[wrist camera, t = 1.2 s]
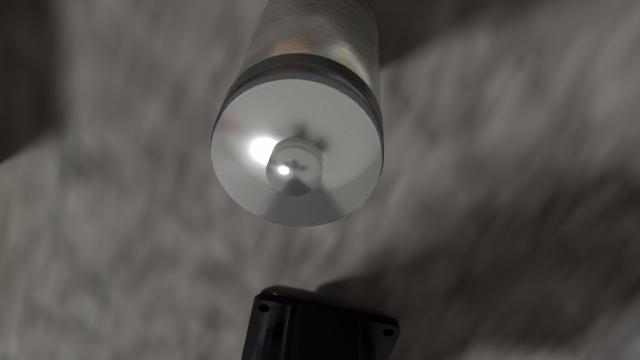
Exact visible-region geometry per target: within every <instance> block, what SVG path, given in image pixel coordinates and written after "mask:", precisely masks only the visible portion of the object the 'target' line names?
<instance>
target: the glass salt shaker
mask: <svg viewBox="0 0 640 360" xmlns="http://www.w3.org/2000/svg"><path fill="white" fill-rule="evenodd" d="M211 157H212V163H213V167H214V171H215V173H216V175H217V178H218V180H219V181H220V183H221V185H222V186H223V188H224V189H225V191H226V192H227V193H228V194H229V196H230V197H231V198H233V199H234V200H235V201H236V202H237V203H238V204H239V205H240V206H242V207H243V208H244V209H246V210H247V211H249V212H251V213H252V214H254V215H256V216H258V217H260V218H262V219H265V220H268V221H271V222H274V223H278V224H282V225H289V226H301V227H303V226H316V225H322V224H326V223H330V222H333V221H336V220H338V219H341V218H343V217H345V216H347V215H349V214H350V213H352V212H353V211H355V210H356V209H357V208H359V207H360V206H361V205H362V204H363V203H364V202H365V201H366V200H367V198H368V197H369V196H370V195H371V193H372V192H373V190H374V188H375V187H376V184H377V182H378V180H379V177H380V175H381V172H382V168H383V161H384V141H383V120H382V114H381V110H380V80H379V46H378V28H377V23H376V20H375V17H374V14H373V12H372V10H371V8H370V6H369V5H368V4H367V2H366V1H365V0H270V1H269V2H268V3H267V5H266V7H265V8H264V10H263V13H262V15H261V18H260V20H259V23H258V25H257V27H256V30H255V32H254V35H253V37H252V40H251V42H250V45H249V47H248V49H247V52H246V54H245V57H244V59H243V62H242V64H241V67H240V69H239V71H238V74H237V76H236V79H235V81H234V83H233V84H232V86H231V88H230V89H229V91H228V93H227V95H226V97H225V100H224V102H223V105H222V107H221V109H220V112H219V114H218V117H217V119H216V122H215V124H214V127H213V131H212V136H211Z"/></svg>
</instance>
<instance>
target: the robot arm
mask: <svg viewBox="0 0 640 360" xmlns="http://www.w3.org/2000/svg"><path fill="white" fill-rule="evenodd" d="M262 304H265V305H262ZM399 333H400V329H399V323H398V322H397V321H396V320H395V319H392V318H388V317H383V316H378V315H373V314H367V313H362V312H357V311H352V310H347V309H342V308H337V307H332V306H327V305H322V304H317V303H312V302H307V301H302V300H297V299H292V298H286V297H281V296H276V295H271V294H264V293H263V294H259V295H257V296H256V297H255V299H254V303H253V307H252V312H251V317H250V321H249V326H248V331H247V335H246V340H245V345H244V350H243V354H242V359H241V360H388V359H389V356H390V354H391V352H392V350H393V348H394V345H395V343H396V341H397V339H398V336H399Z"/></svg>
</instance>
